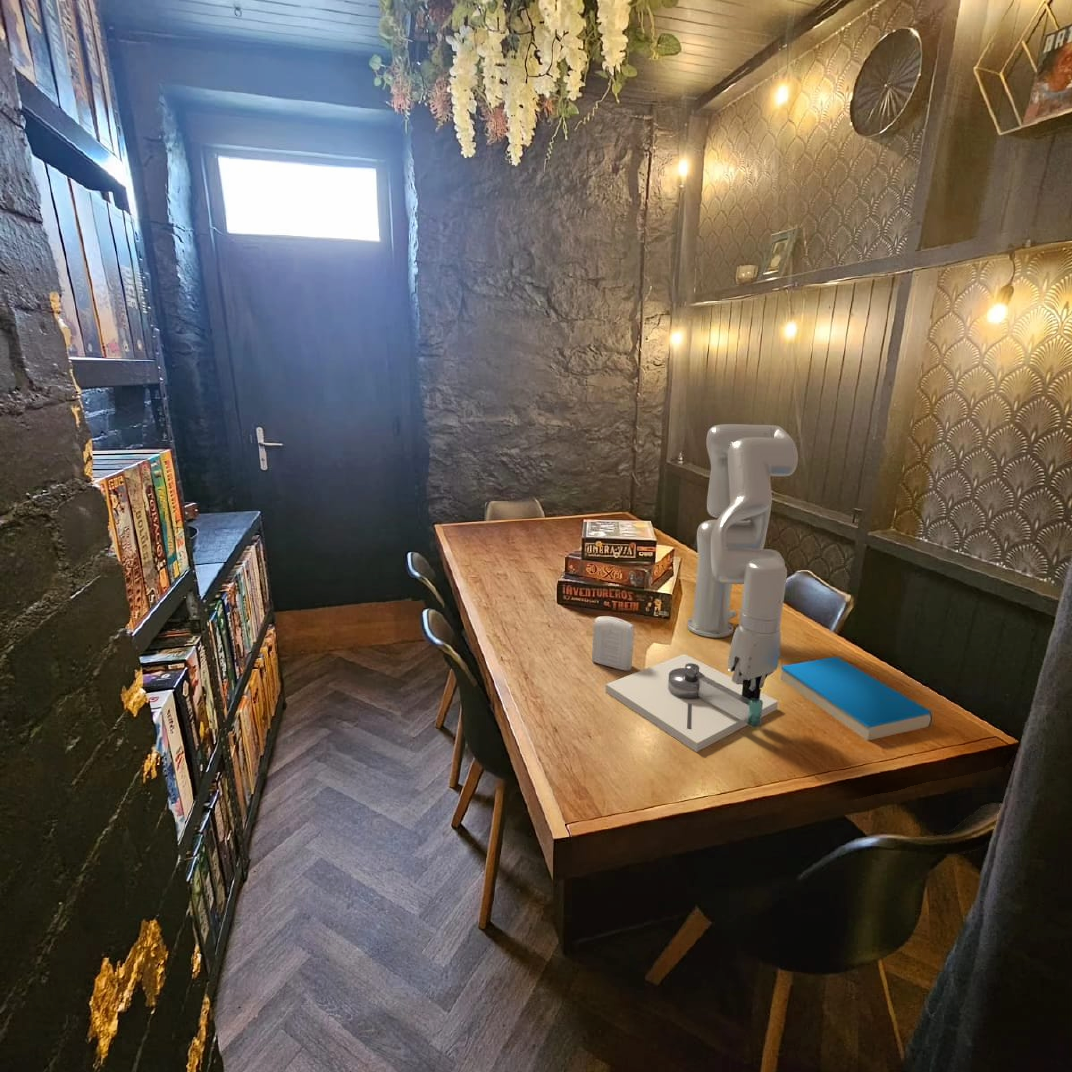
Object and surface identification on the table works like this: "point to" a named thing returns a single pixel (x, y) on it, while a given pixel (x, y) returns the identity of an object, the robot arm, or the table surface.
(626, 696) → the stand base
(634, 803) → the table surface
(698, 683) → the crank handle
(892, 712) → the book
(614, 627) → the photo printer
